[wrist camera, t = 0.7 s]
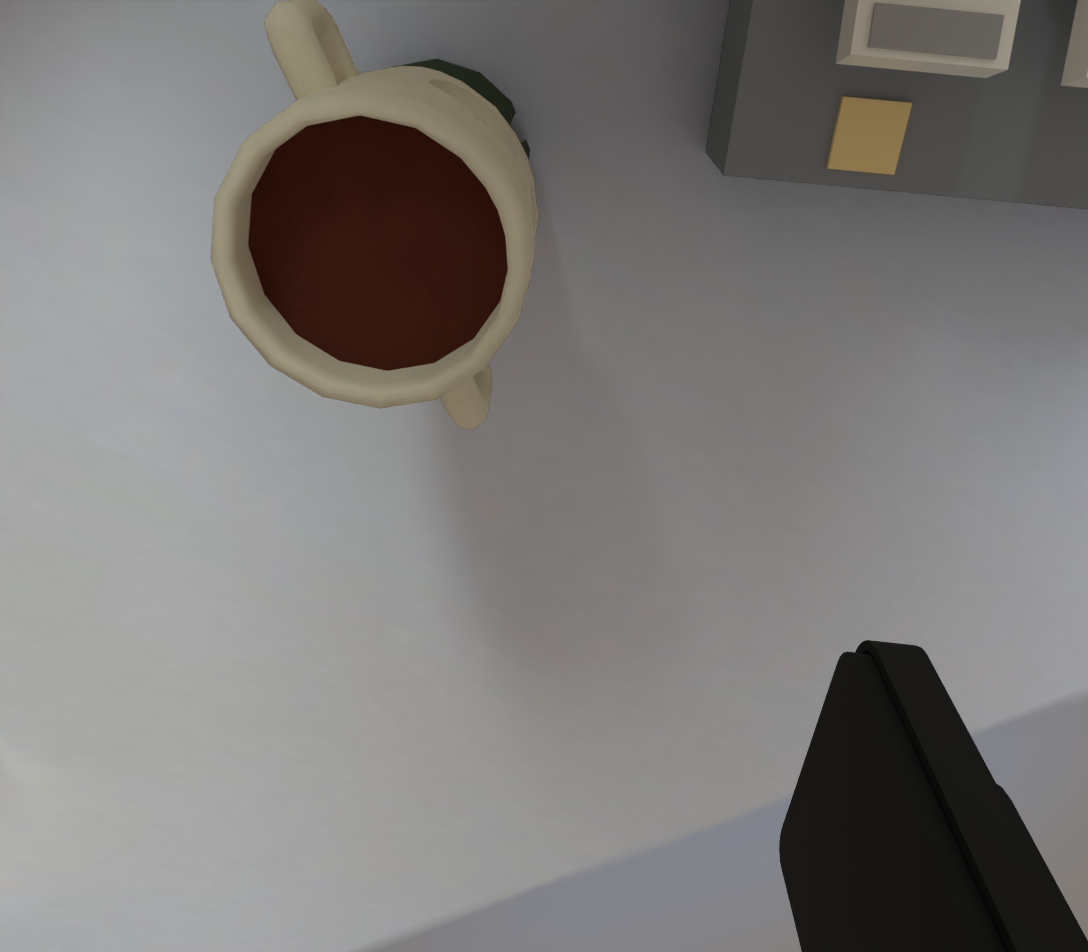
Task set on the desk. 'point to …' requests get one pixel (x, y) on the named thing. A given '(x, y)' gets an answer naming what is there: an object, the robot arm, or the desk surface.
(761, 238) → the desk surface
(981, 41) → the rocker
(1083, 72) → the block
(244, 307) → the character mug
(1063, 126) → the console
